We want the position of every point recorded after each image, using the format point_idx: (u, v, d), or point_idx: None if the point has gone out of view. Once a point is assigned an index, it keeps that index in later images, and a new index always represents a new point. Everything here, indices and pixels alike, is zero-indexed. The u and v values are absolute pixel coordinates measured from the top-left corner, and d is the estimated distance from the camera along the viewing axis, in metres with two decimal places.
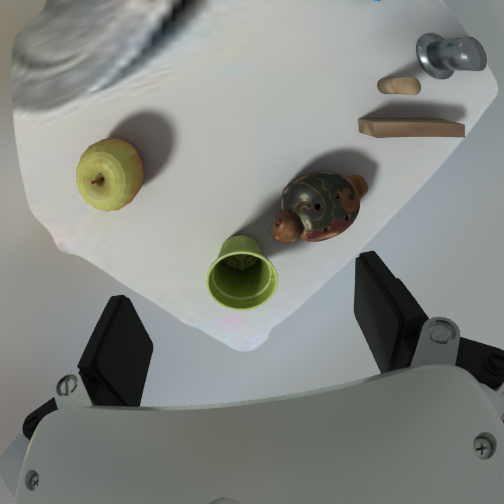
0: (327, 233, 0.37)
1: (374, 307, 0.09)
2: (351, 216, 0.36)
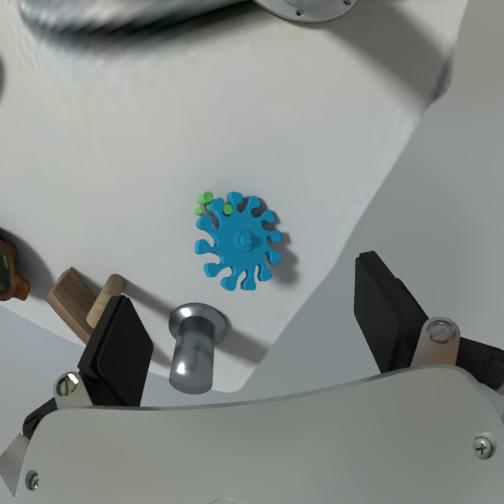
0: None
1: (374, 307, 0.09)
2: None
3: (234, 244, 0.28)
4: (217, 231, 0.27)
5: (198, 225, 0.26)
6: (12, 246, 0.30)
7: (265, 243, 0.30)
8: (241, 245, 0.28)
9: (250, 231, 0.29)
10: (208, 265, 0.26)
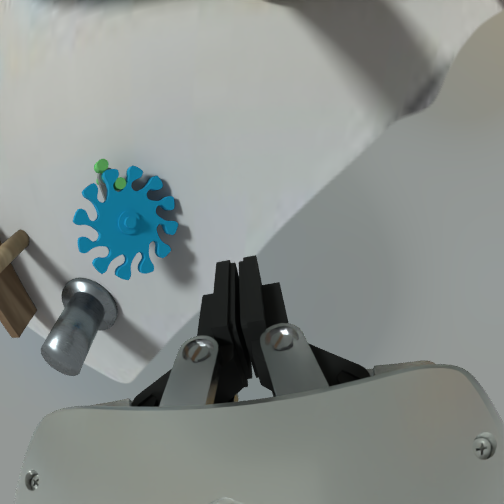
0: None
1: None
2: None
3: (116, 223, 0.23)
4: (101, 204, 0.21)
5: (83, 193, 0.21)
6: None
7: (154, 231, 0.25)
8: (123, 226, 0.23)
9: (140, 214, 0.24)
10: (81, 239, 0.20)
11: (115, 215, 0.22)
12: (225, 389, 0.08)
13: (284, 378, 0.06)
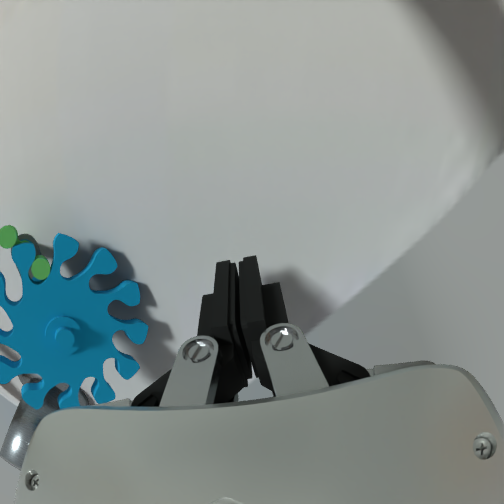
0: None
1: None
2: None
3: (43, 338, 0.11)
4: (12, 309, 0.10)
5: None
6: None
7: (109, 344, 0.14)
8: (55, 343, 0.11)
9: (80, 319, 0.12)
10: None
11: (39, 325, 0.11)
12: (225, 389, 0.08)
13: (284, 378, 0.06)
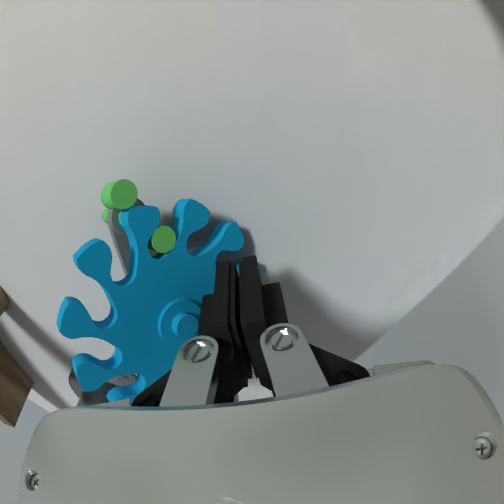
0: None
1: None
2: None
3: (155, 328, 0.11)
4: (120, 290, 0.09)
5: (75, 262, 0.09)
6: None
7: None
8: (171, 333, 0.11)
9: (201, 302, 0.12)
10: (80, 366, 0.08)
11: (152, 311, 0.10)
12: (225, 389, 0.08)
13: (284, 378, 0.06)
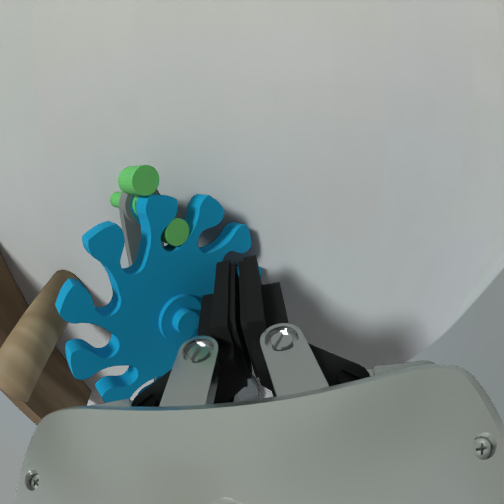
0: None
1: None
2: None
3: (155, 321, 0.10)
4: (127, 278, 0.09)
5: (85, 243, 0.08)
6: None
7: None
8: (170, 328, 0.11)
9: None
10: (75, 352, 0.08)
11: (155, 304, 0.10)
12: (225, 389, 0.08)
13: (284, 378, 0.06)
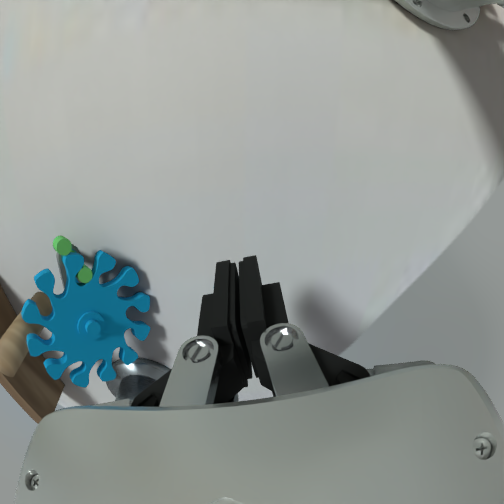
0: None
1: None
2: None
3: (75, 326, 0.16)
4: (57, 301, 0.15)
5: (35, 281, 0.14)
6: None
7: (121, 337, 0.19)
8: (84, 331, 0.16)
9: (105, 316, 0.17)
10: (30, 340, 0.13)
11: (74, 316, 0.16)
12: (225, 389, 0.08)
13: (284, 378, 0.06)
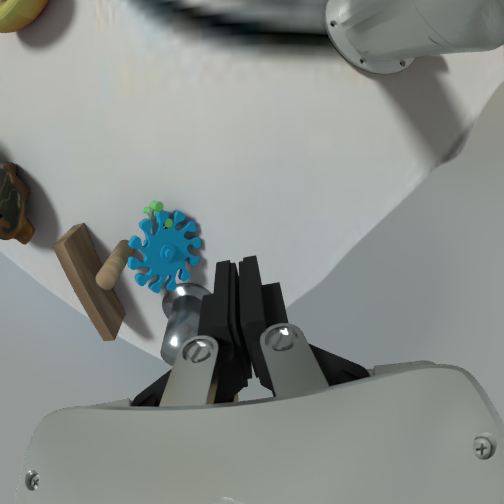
0: None
1: None
2: None
3: (159, 252, 0.32)
4: (152, 236, 0.31)
5: (140, 225, 0.30)
6: (27, 187, 0.30)
7: (183, 262, 0.35)
8: (164, 255, 0.32)
9: (176, 247, 0.34)
10: (132, 259, 0.30)
11: (160, 246, 0.32)
12: (225, 389, 0.08)
13: (284, 378, 0.06)
